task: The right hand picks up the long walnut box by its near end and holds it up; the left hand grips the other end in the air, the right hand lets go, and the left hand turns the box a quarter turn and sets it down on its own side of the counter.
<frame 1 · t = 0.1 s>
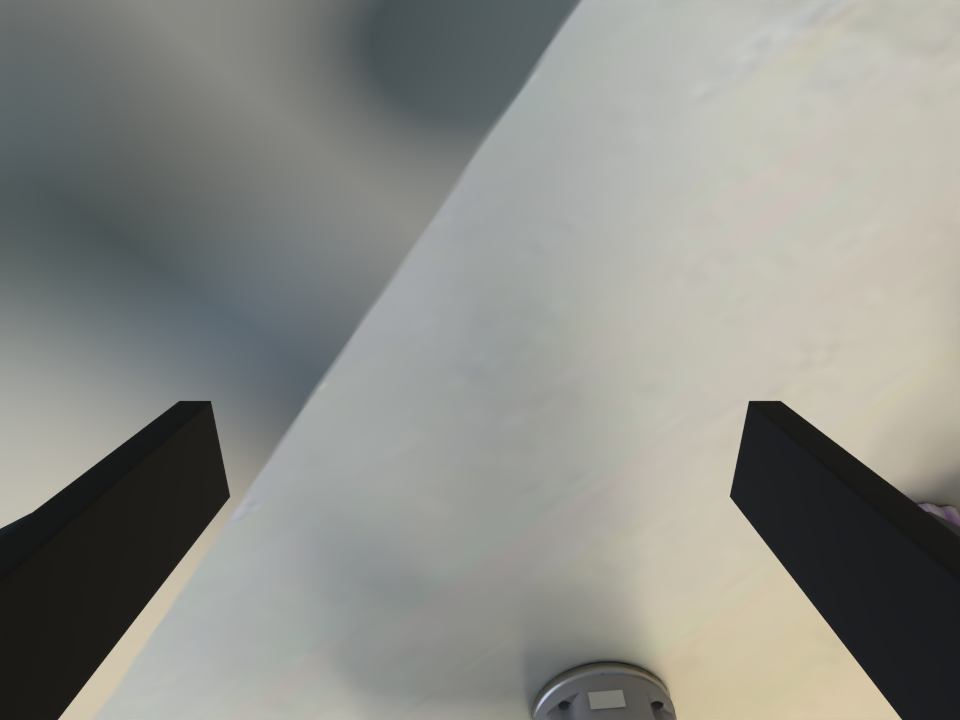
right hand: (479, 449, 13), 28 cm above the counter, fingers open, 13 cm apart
figurine: (909, 532, 48), on the counter
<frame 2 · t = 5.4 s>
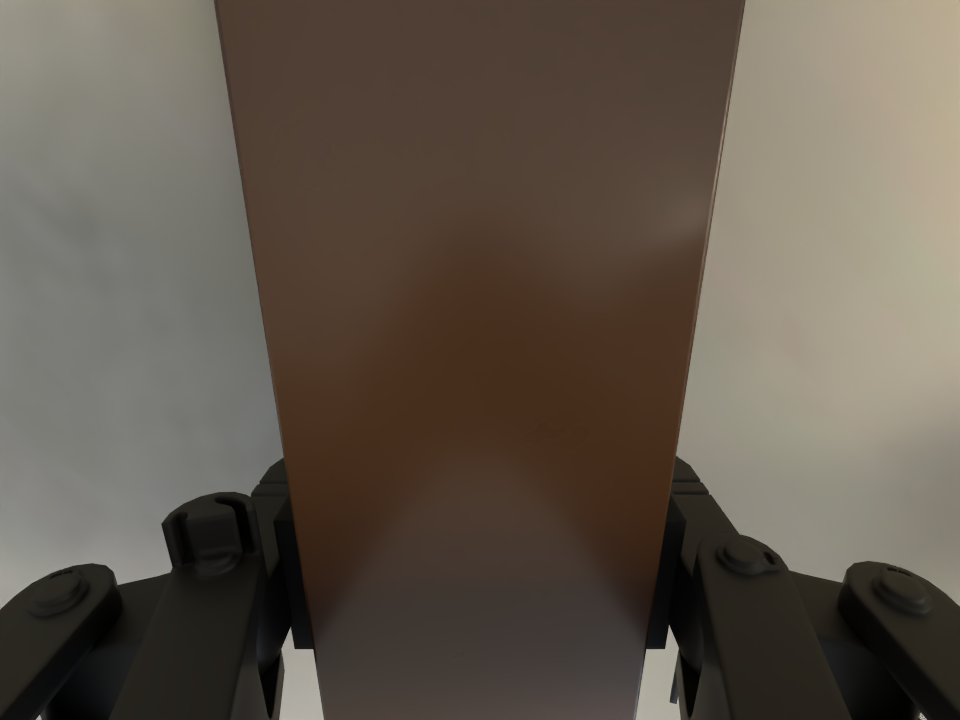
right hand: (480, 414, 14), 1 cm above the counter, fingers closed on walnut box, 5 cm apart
walnut box: (479, 104, 12), on the counter, touching right hand
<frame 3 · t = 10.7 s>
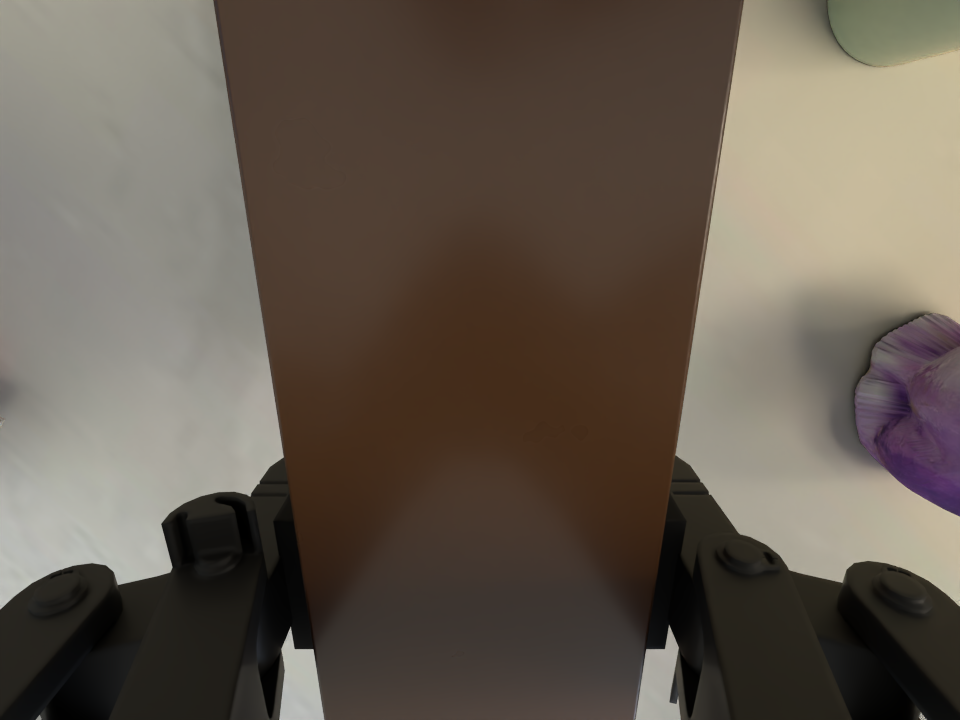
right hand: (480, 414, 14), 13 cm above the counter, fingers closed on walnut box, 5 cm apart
figurine: (912, 392, 28), on the counter
walnut box: (479, 104, 12), point 12 cm above the counter, touching right hand, left hand
when the right hand's fingers open (13 cm above the counter, at t = 11.6 s): walnut box stays where it is, held by the left hand.
when the left hand's fingers open (2 cm above the counter, at t = 19.7 s): walnut box drops 1 cm, on the counter.
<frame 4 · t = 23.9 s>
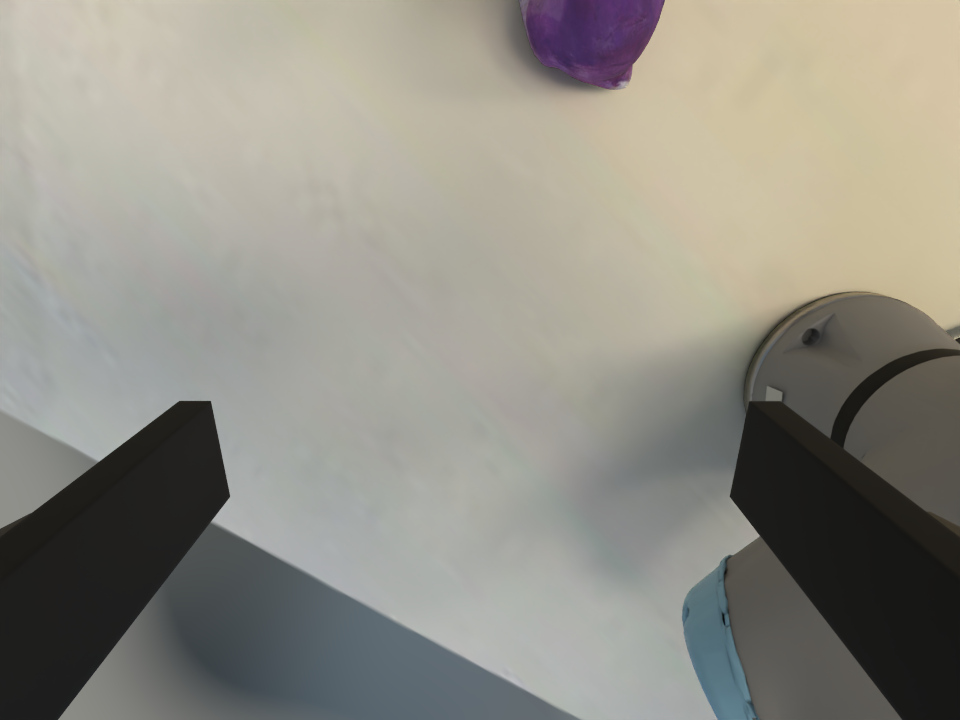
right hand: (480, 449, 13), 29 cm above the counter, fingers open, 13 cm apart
figurine: (570, 3, 34), on the counter
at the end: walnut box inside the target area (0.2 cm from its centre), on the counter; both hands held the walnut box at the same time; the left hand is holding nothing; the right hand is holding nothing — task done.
